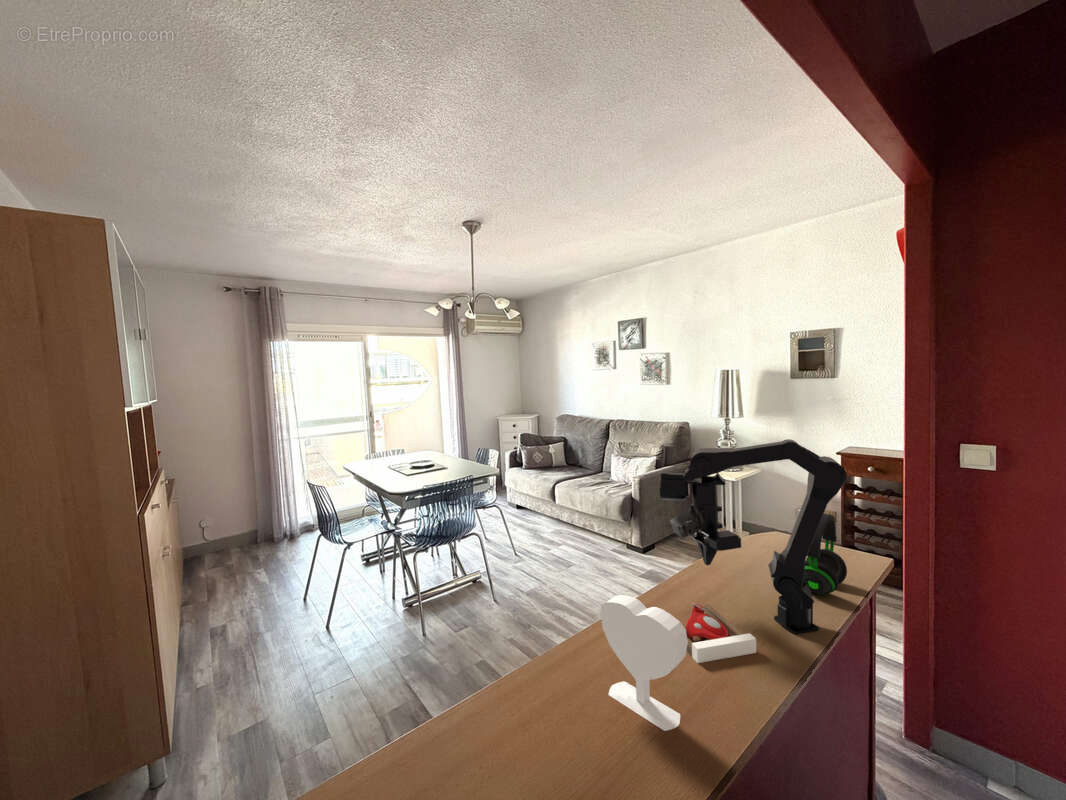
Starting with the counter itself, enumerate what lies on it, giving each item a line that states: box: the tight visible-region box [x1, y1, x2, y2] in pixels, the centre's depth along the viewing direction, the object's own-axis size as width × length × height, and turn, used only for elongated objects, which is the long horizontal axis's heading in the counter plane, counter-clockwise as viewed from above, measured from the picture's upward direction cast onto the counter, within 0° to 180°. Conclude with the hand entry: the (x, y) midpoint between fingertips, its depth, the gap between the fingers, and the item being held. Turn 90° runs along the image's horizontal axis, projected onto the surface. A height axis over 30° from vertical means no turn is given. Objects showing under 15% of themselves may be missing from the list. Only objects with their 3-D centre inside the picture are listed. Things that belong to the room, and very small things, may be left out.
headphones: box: [804, 513, 848, 596], centre depth 116 cm, size 9×16×20 cm, turn 131°
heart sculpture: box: [600, 594, 689, 732], centre depth 78 cm, size 16×5×18 cm, turn 43°
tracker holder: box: [684, 602, 730, 640], centre depth 101 cm, size 12×4×10 cm
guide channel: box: [686, 603, 757, 664], centre depth 99 cm, size 13×17×3 cm
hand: (707, 564), depth 108 cm, fingers closed
